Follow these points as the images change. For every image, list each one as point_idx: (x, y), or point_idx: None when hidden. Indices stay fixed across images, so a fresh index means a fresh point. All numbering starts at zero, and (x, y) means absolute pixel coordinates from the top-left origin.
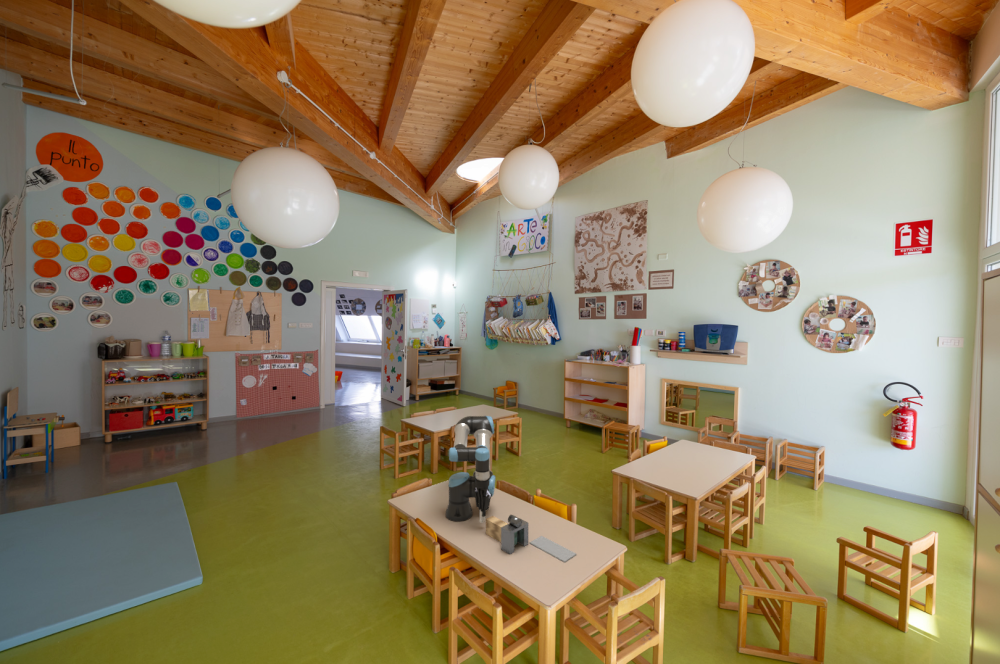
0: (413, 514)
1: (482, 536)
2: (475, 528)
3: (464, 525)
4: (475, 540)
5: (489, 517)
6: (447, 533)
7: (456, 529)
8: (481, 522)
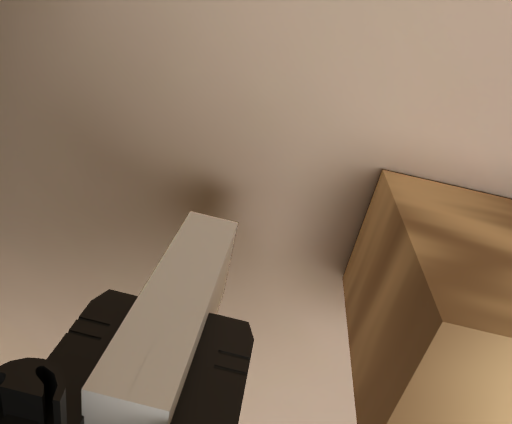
0: None
1: (335, 324)
2: (156, 234)
3: (14, 244)
4: (316, 398)
5: (407, 411)
6: None
7: (30, 335)
8: (222, 296)
